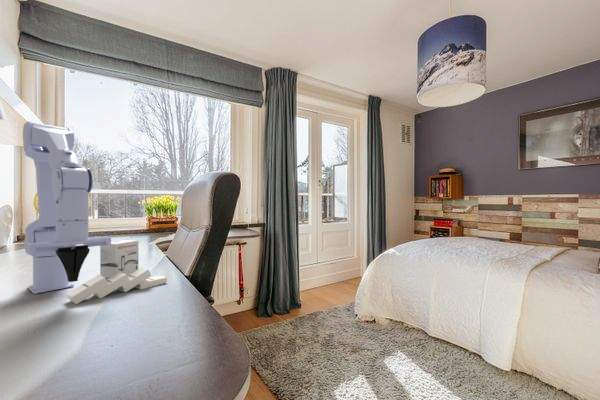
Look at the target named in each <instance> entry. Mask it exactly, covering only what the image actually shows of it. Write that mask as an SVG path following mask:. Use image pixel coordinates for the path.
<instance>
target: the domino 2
mask: <svg viewBox="0 0 600 400" xmlns="http://www.w3.org/2000/svg"><path fill="white" fill-rule="evenodd" d="M129 281H130V280H129V278H128V276H127V274H125V273H122V272H119V273H117V274H115V275H114V276H112V277H110V278H108V279H107V282H108V283H109V284H108V285H107V286H105V287H104V288H102V289H100V290H99V291H97V292H96V293H94V294H93V296H94V297H96V298H98V299H103V298H104V297H106V296H108V295H109V294H111V293H113V292H115V291H116V290H118V289H117V288H119V287H121V286H122V285H124V284H126V283H127V282H129Z"/></svg>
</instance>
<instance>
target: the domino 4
mask: <svg viewBox="0 0 600 400" xmlns="http://www.w3.org/2000/svg"><path fill="white" fill-rule="evenodd" d="M166 282H167V283H168V278H167V277H166V276H163V275H155V276H150V277H149V278H147V279H146V280H144V281H143V282H141V283H139V284H138V285H136V286H135V287H134V288H136V289H137V290H138V289H139V290H144V289H147V288H148V287H149V288H152V286H153V287H156V285H157V286H160V285H159V284H161V285H164V284H163V283H165V284H167V283H166Z"/></svg>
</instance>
